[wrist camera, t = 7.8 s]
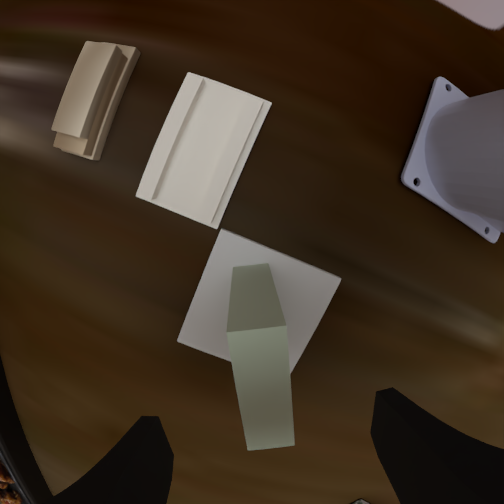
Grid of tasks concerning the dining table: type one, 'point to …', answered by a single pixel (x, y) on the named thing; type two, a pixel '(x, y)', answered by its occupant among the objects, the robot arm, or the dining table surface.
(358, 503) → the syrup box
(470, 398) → the dining table surface
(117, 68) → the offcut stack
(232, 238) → the mat
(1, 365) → the food platter
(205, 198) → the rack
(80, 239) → the dining table surface
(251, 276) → the grey green block
